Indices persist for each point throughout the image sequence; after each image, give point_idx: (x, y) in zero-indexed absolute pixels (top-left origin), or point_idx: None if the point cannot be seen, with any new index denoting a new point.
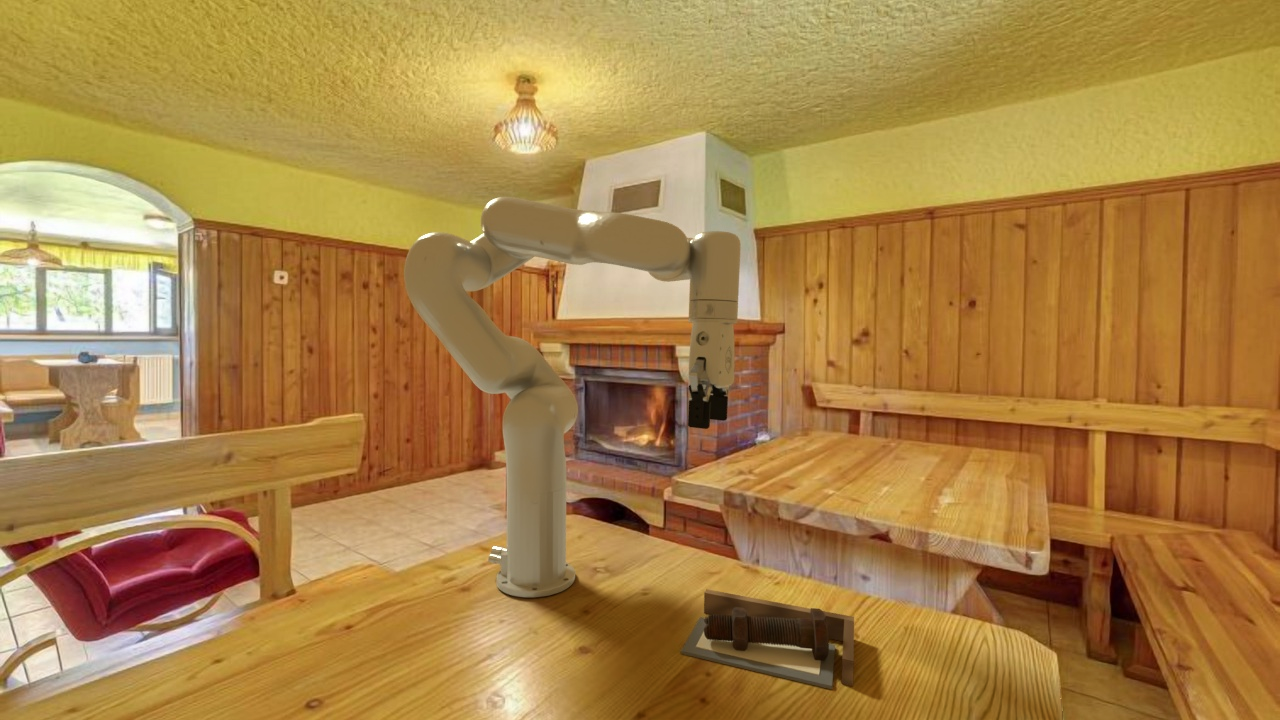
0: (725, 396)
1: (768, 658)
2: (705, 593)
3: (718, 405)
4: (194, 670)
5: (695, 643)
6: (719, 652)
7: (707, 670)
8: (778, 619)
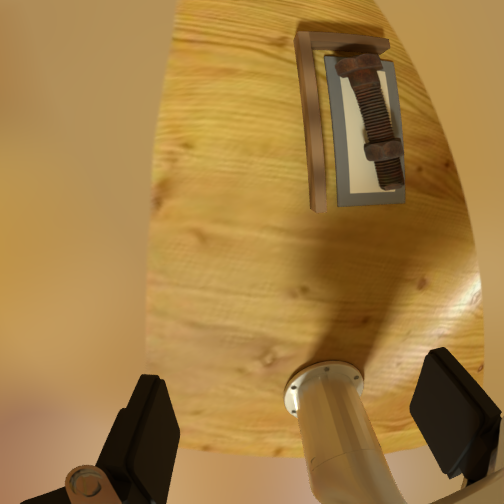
0: (124, 472)
1: None
2: (326, 210)
3: (156, 452)
4: None
5: (389, 193)
6: None
7: (415, 171)
8: (379, 105)
